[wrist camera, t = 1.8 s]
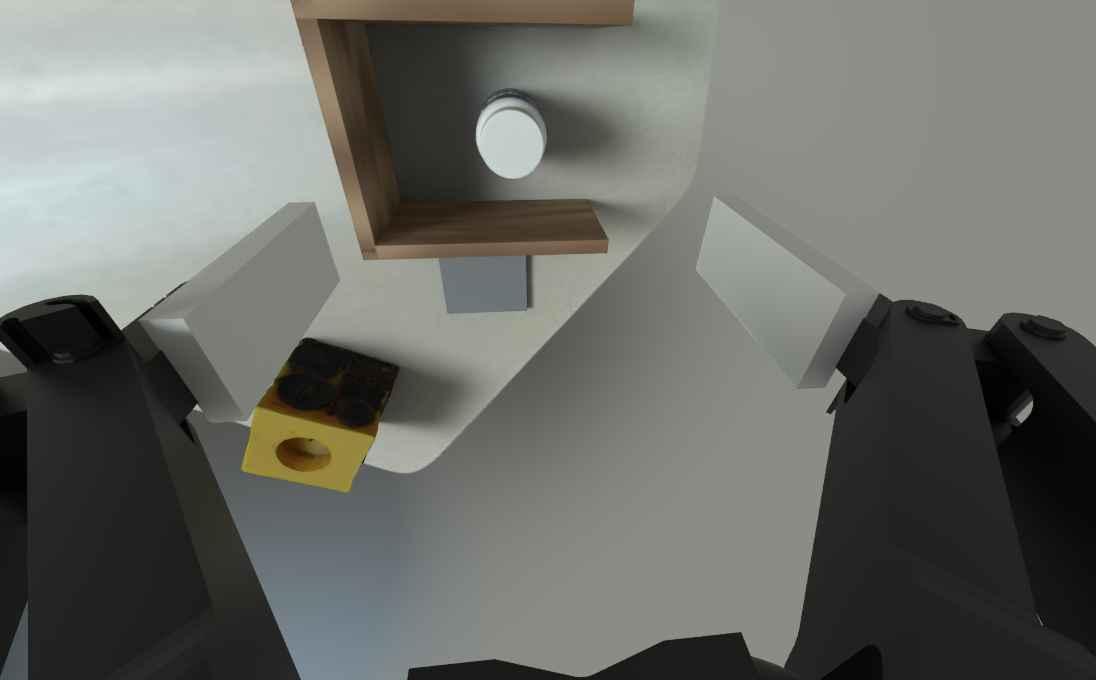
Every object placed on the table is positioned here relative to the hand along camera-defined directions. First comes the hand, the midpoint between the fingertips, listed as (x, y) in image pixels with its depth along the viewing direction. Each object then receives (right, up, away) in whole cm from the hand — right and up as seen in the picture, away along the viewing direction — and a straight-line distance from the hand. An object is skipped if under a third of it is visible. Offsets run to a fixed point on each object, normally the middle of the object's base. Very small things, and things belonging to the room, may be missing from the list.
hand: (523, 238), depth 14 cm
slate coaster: (-5, +3, +25) cm, 26 cm away
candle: (-22, -8, +32) cm, 40 cm away
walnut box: (-4, +13, +18) cm, 22 cm away
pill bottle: (-2, +14, +18) cm, 23 cm away
